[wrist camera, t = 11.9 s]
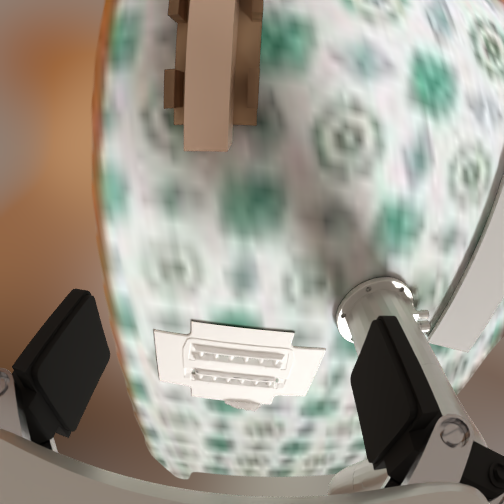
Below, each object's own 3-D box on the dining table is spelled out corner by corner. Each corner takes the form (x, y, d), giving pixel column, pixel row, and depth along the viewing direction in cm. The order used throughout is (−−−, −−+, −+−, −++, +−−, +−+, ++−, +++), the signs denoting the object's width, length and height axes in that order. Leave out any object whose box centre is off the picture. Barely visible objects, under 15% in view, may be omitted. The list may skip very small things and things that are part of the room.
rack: (264, -20, 23) (265, -36, 19) (256, 124, 32) (256, 128, 27) (183, -18, 23) (173, -33, 19) (176, 124, 32) (163, 128, 27)
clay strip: (242, -36, 21) (239, -59, 16) (232, 142, 32) (227, 151, 26) (205, -36, 21) (196, -58, 16) (195, 142, 32) (183, 151, 26)
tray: (153, 311, 45) (147, 327, 42) (329, 326, 47) (334, 342, 44) (162, 387, 55) (159, 402, 51) (300, 397, 57) (302, 412, 54)
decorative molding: (423, 326, 50) (462, 336, 48) (428, 342, 46) (467, 352, 44) (497, 153, 34) (536, 177, 32) (511, 157, 30) (551, 183, 28)
